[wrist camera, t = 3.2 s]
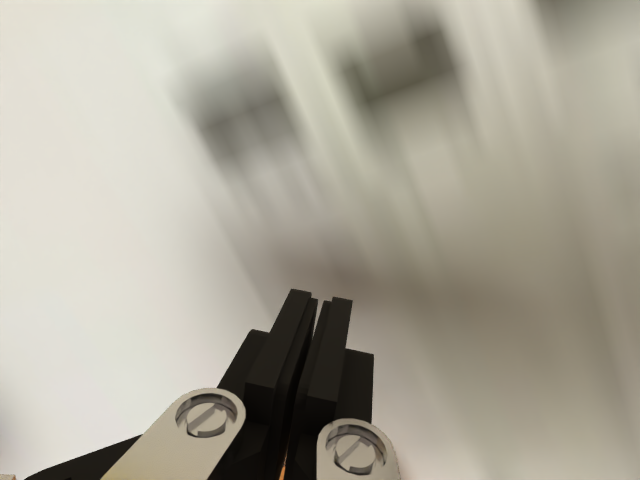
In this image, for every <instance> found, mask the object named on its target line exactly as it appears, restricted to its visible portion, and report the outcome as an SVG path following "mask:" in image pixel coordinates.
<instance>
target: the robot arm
mask: <svg viewBox="0 0 640 480" xmlns="http://www.w3.org/2000/svg"><path fill="white" fill-rule="evenodd" d="M352 302H353V300H347V299H342V298H337V297H333V298H332V302H330V301H325V300H324V302H323V306H322V309H321V312H320V316H319V319H318V322H317V326H316V329H315V332H314V336H313V331H314V324H315V318H316V311H317V305H318V299H315V298H311V292H306V291H301V290H296V289H291V290H290V292H289V294H288V296H287V299H286V301H285V303H284V305H283V307H282V309H281V311H280V313H279V315H278V317H277V319H276V321H275V323H274V325H273V327H272V329H271V331H270V333H268V332H263V331H259V330H254V329H252V330H251V331H250V332H249V333H248V335H247V337H246V339H245V340H244V342H243V344H242V345H241V347H240V349H239V350H238V352H237V354H236V356H235V357H234V359H233V361H232V362H231V364H230V366H229V368H228V369H227V371H226V373H225V374H224V376H223V378H222V379H221V381H220V383H219V385H218V386H217V388H203V389H198V390H193V391H191V392H189V393H186V394H184V395H182V396H181V397H180V398H178V399H177V400H176V401H175V402H174V403H173V404H172V405H171V406H170V407H169V408H168V409H167V410H166V411H165V412H164V413H163V414H162V415H161V416H160V417H159V418H158V419H157V420H156V421H155V422H154V423H153V425H152V426H151V427H150V428H149V429H148V430H147V431H146V432H145V433H144V434H142V435H139V436H136V437H133V438H131V439H128V440H125V441H122V442H119V443H117V444H114V445H111V446H108V447H105V448H103V449H100V450H97V451H94V452H92V453H89V454H86V455H83V456H80V457H78V458H75V459H72V460H69V461H67V462H64V463H61V464H58V465H55V466H53V467H50V468H47V469H44V470H42V471H40V472H38V473H36V474H33V475H31V476H29V477H27V478H26V479H24V480H279V479H280V475H281V472H282V468H283V464H284V461H285V457H286V454H287V458H286V465H285V471H284V478H283V480H401V478H400V473H399V468H398V463H397V459H396V454H395V451H394V448H393V446H392V443H391V441H390V440H389V439H388V438H387V436H386V435H385V434H384V433H383V432H382V431H381V430H379V429H378V428H377V427H375V426H374V425H372V424H371V420H372V393H373V366H374V355H373V354H370V353H365V352H360V351H356V350H351V349H346V348H345V347H346V340H347V334H348V327H349V321H350V315H351V308H352ZM312 337H313V339H312ZM287 450H288V451H287ZM0 480H16V477H15V475H4V474H0Z"/></svg>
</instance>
